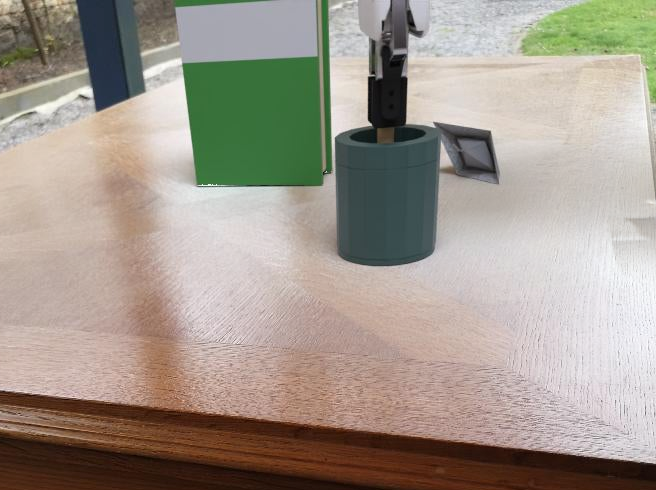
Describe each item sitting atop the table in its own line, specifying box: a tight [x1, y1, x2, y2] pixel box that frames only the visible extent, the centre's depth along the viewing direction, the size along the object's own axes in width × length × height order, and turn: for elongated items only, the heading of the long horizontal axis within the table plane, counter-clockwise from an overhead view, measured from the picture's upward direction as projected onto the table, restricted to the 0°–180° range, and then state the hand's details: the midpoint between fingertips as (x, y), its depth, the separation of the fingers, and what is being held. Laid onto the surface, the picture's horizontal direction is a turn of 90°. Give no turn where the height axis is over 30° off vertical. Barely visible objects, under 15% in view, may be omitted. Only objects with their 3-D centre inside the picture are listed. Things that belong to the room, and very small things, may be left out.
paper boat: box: [432, 121, 501, 185], centre depth 100 cm, size 12×6×9 cm
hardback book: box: [173, 0, 333, 187], centre depth 102 cm, size 18×7×24 cm, turn 75°
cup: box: [334, 123, 442, 267], centre depth 78 cm, size 10×10×11 cm
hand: (386, 123), depth 74 cm, fingers closed
